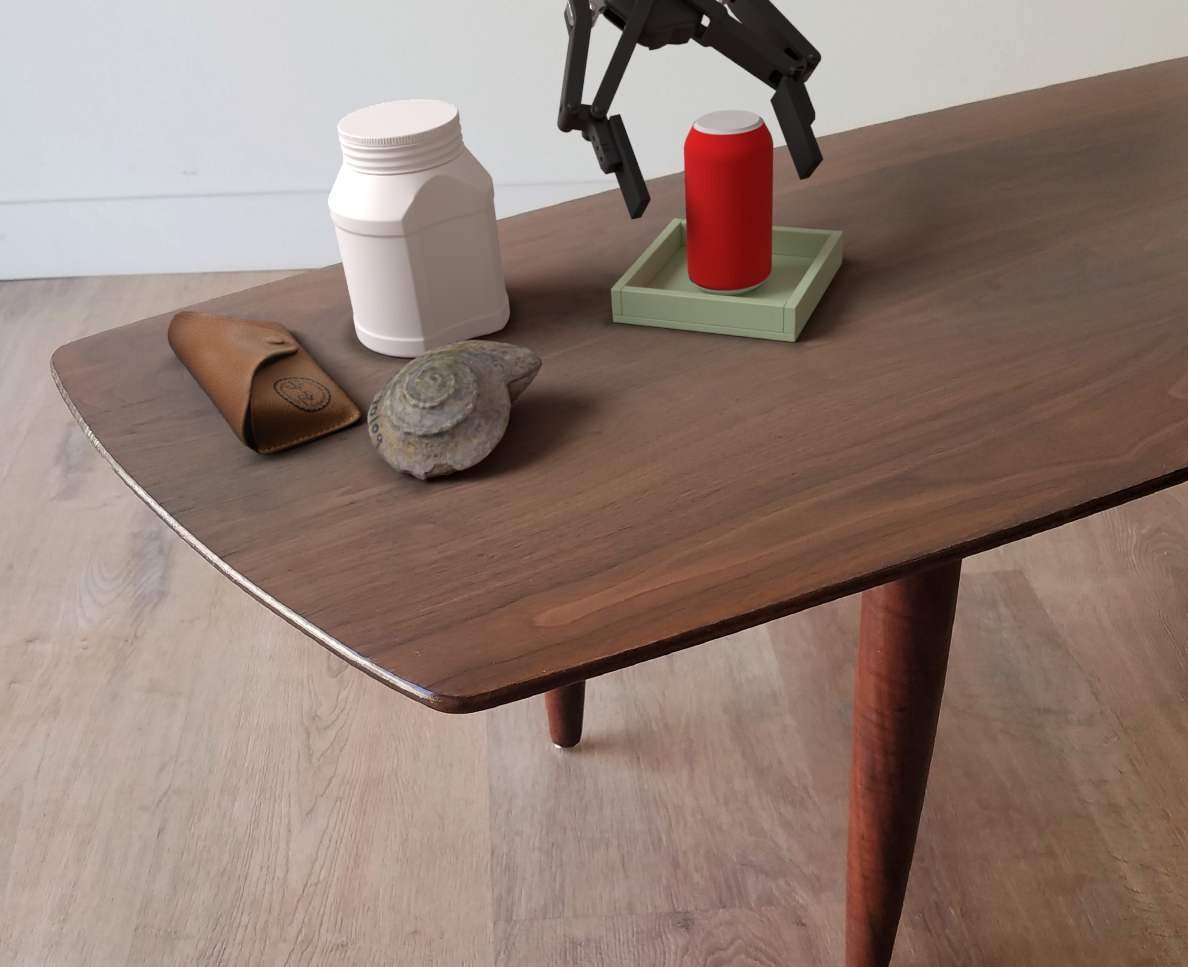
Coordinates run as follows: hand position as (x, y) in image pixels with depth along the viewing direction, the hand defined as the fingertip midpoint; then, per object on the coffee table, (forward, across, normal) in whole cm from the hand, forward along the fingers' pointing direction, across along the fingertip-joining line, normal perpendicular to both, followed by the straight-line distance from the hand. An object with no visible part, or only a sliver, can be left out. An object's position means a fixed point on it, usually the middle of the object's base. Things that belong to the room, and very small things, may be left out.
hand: (728, 190), depth 87 cm
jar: (+1, +21, -10) cm, 24 cm away
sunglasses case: (+3, +35, -8) cm, 36 cm away
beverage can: (+5, 0, -5) cm, 7 cm away
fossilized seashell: (+13, +24, +2) cm, 27 cm away
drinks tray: (+6, 0, -5) cm, 8 cm away
